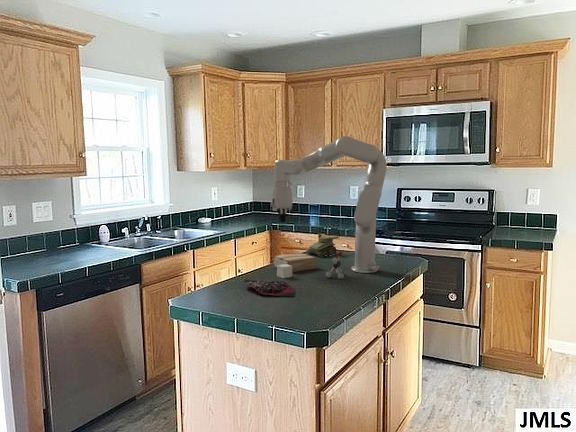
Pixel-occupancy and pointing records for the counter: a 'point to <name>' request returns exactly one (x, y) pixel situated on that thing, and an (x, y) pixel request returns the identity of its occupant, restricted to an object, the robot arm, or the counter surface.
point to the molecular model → (336, 266)
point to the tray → (279, 262)
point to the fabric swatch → (272, 287)
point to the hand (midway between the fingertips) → (282, 221)
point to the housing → (298, 261)
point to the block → (284, 270)
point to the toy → (323, 247)
